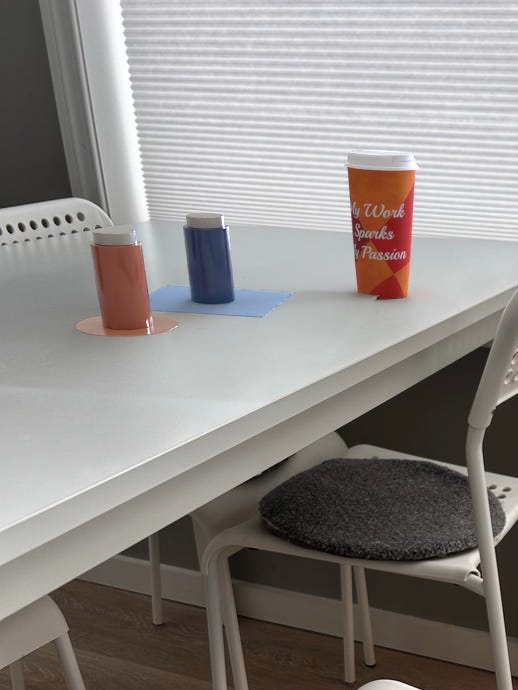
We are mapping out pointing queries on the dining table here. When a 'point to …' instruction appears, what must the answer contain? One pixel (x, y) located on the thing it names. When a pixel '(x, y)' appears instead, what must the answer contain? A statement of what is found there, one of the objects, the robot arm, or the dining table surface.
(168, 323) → the terracotta coaster
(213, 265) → the blue shaker
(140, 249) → the red shaker
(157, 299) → the blue mat
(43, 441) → the dining table surface
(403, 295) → the paper cup
